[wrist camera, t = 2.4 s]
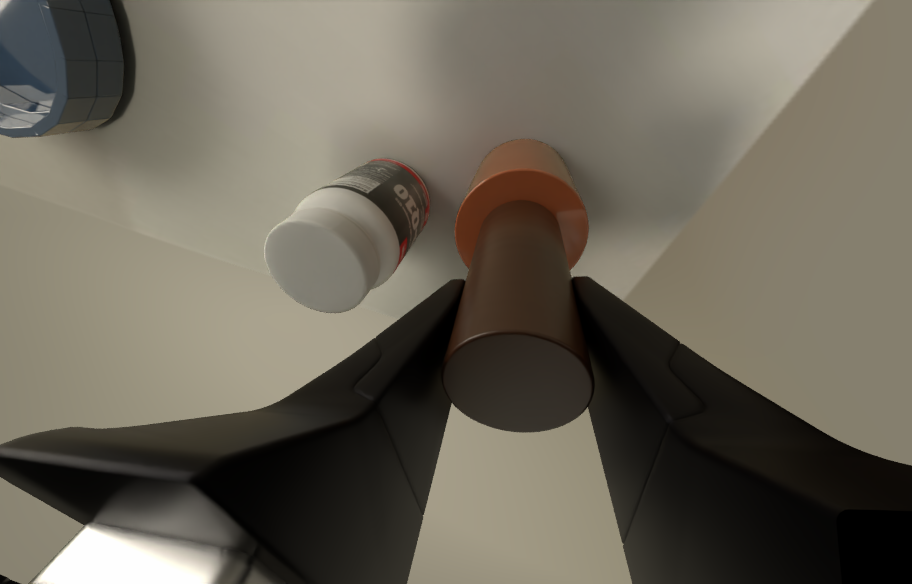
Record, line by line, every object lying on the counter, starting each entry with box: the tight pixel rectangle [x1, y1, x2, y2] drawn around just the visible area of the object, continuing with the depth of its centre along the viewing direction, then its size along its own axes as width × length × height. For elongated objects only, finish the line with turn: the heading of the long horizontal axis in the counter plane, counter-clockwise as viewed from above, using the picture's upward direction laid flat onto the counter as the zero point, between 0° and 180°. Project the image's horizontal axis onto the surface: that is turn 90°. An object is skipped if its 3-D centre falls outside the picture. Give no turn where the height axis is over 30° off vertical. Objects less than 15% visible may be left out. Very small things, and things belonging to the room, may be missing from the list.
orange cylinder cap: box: [455, 139, 589, 270], centre depth 15 cm, size 5×5×6 cm
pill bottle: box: [264, 158, 430, 313], centre depth 15 cm, size 5×5×8 cm
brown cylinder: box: [441, 200, 595, 432], centre depth 9 cm, size 3×3×7 cm
